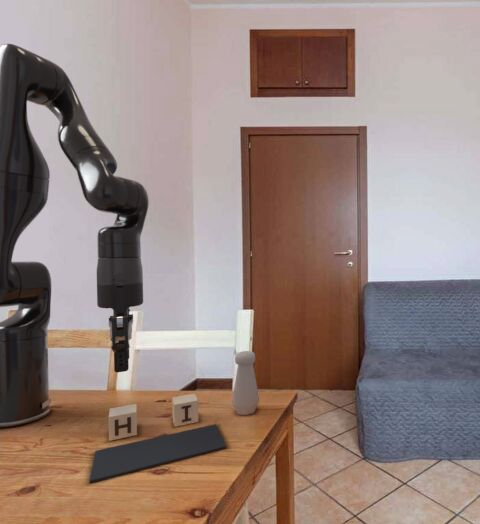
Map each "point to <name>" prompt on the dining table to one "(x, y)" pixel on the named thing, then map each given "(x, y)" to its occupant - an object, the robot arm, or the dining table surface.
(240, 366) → the salt shaker
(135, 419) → the beige rounded cube
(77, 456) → the dining table surface
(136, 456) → the word mat
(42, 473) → the dining table surface
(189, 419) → the beige cube block
